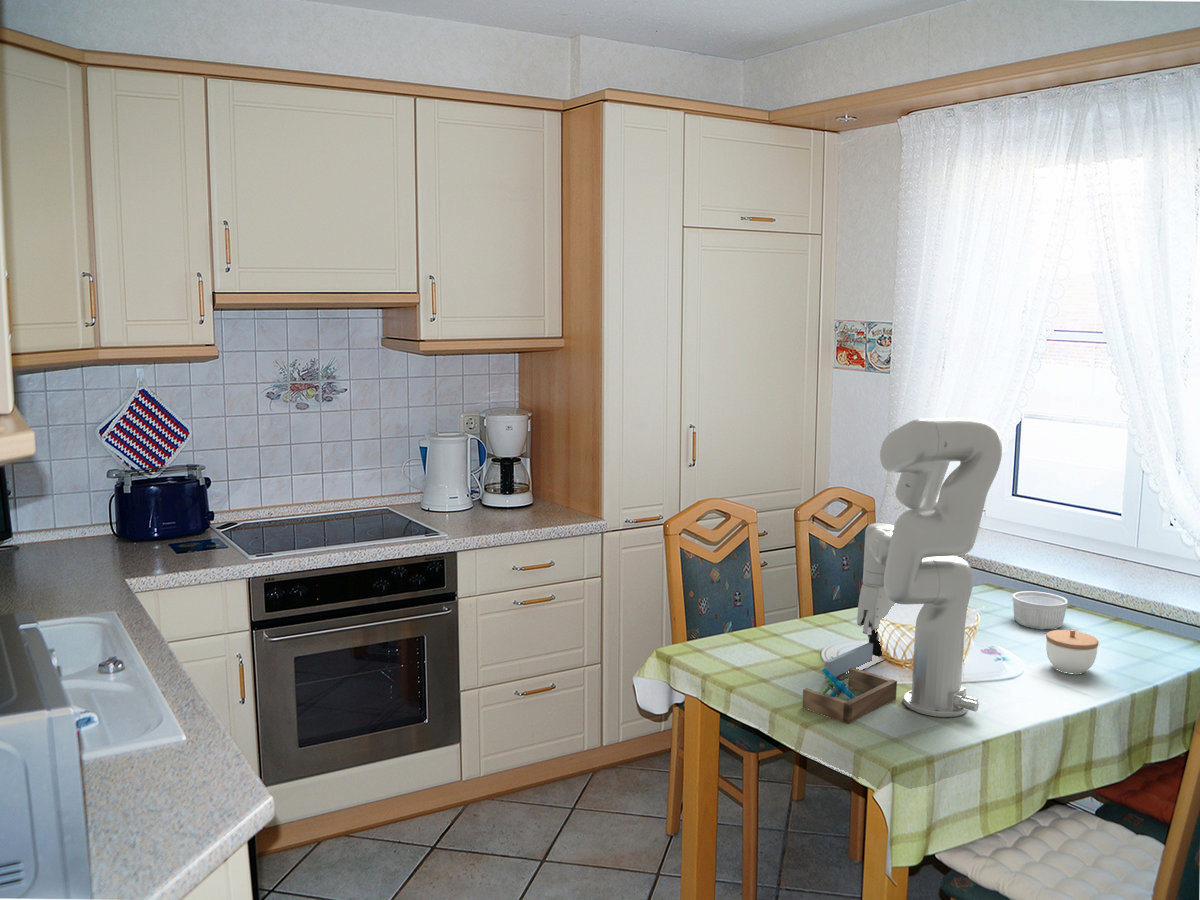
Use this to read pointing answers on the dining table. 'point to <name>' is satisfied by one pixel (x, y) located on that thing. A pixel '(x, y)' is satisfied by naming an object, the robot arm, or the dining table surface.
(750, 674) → the dining table surface
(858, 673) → the frame
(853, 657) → the gate
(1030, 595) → the ramekin
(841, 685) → the blue toy model
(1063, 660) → the lidded jar
